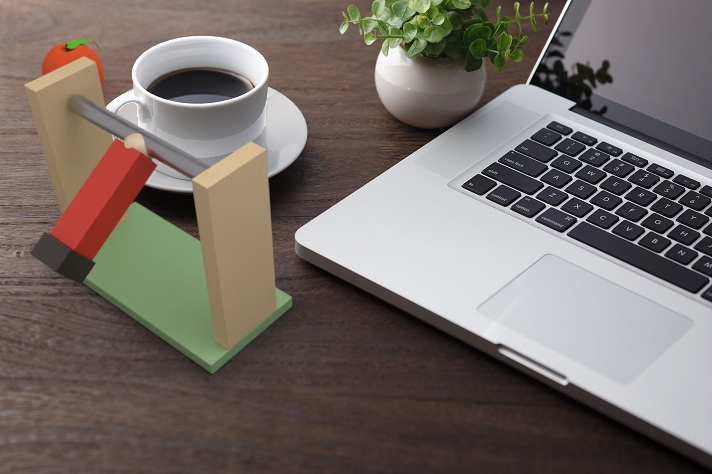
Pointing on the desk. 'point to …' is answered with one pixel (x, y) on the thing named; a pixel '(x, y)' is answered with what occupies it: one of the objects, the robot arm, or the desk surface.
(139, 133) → the pendulum
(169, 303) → the frame
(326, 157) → the desk surface
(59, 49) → the clementine
